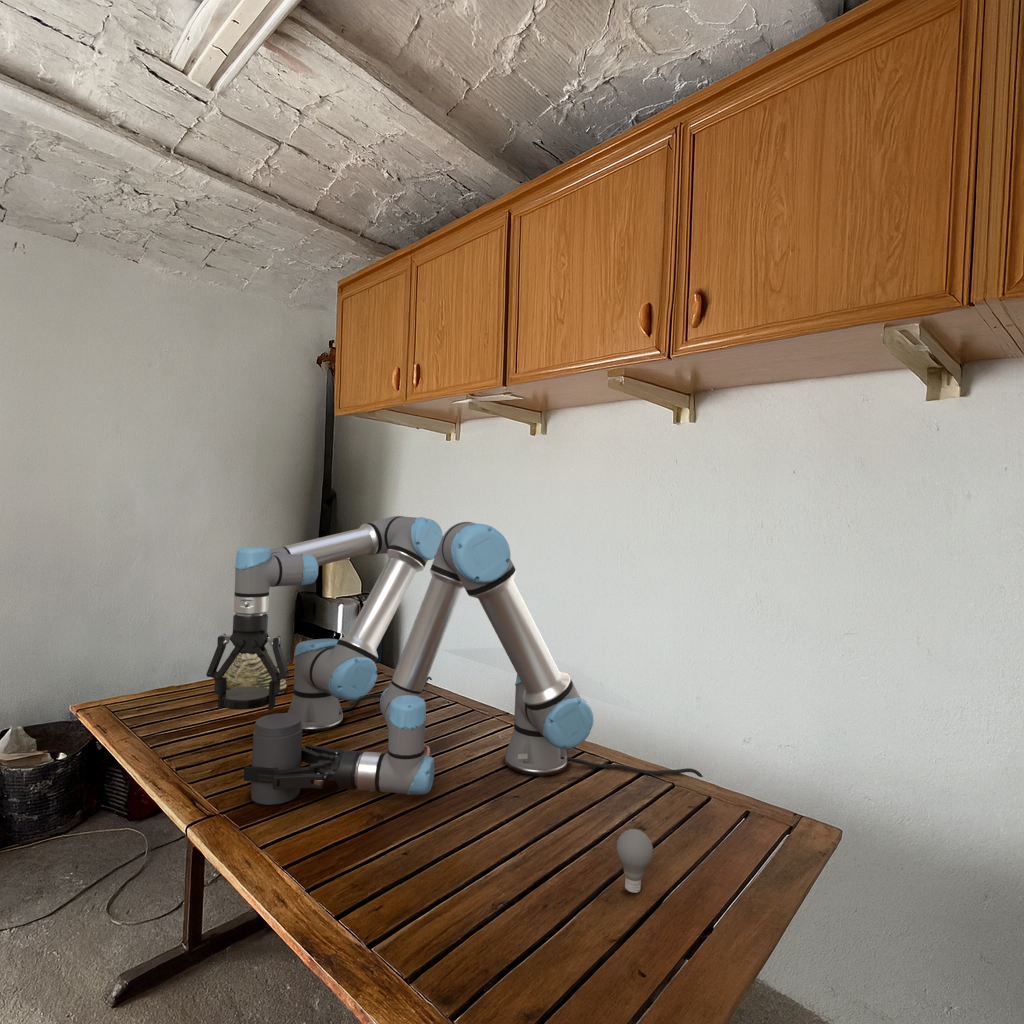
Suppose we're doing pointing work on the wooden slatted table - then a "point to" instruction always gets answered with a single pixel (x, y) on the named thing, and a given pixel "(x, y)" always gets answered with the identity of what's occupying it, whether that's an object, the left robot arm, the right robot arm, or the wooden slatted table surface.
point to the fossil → (249, 673)
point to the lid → (245, 698)
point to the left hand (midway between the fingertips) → (246, 707)
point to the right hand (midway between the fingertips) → (257, 762)
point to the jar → (276, 754)
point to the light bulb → (634, 857)
